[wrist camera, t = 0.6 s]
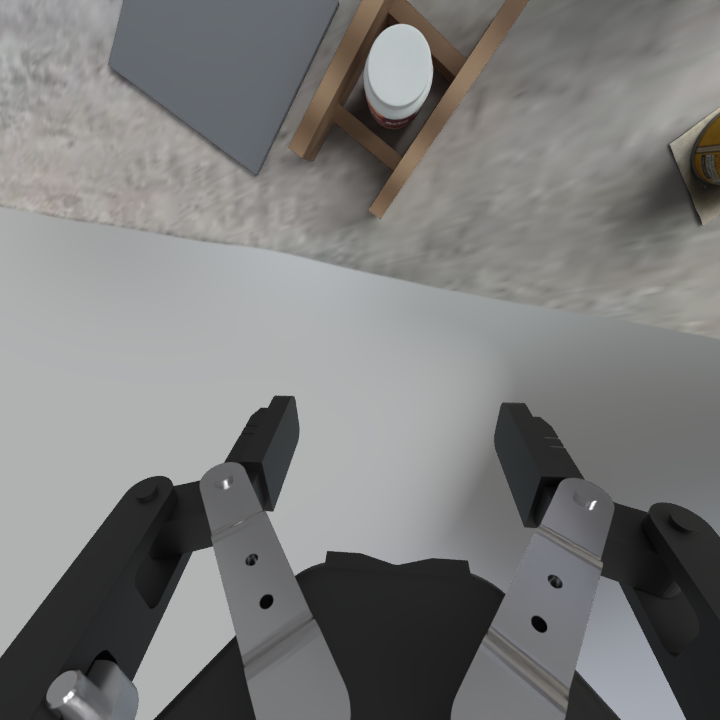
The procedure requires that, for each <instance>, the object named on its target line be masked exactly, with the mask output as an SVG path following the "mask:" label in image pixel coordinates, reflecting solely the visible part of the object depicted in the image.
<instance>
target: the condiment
mask: <svg viewBox="0 0 720 720" xmlns="http://www.w3.org/2000/svg"><path fill="white" fill-rule="evenodd" d="M670 146H671V149H672V151H673V154H674V157H675V160H676V162H677V165H678V166H679V170H680V173H681V175H682V177H683V178H684V182H685V184H686V186H687V189H688V190H689V192H690V194H691V197H692V200H693V202H694V206H695V208H696V210H697V212H698V214H699V216H700V218H701V221H702V224H703V226H704V225H705V224H707V223H708V222H710V221H712V220H713V219H714V218H715V217H717V216H719V215H720V107H719V108H718V109H717V110H716V111H714V112H713V113H711V114H710V115H709V116H707V117H706V118H704V119H703V120H702V121H700V122H699V123H698V124H696V125H695V126H694V127H692V128H691V129H690V130H689V131H687V132H686V133H684V134H683V135H682V136H680V137H679V138H677V139H676V140H675V141H673V142H672V143H670ZM705 186H706V188H704V187H705Z"/></svg>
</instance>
